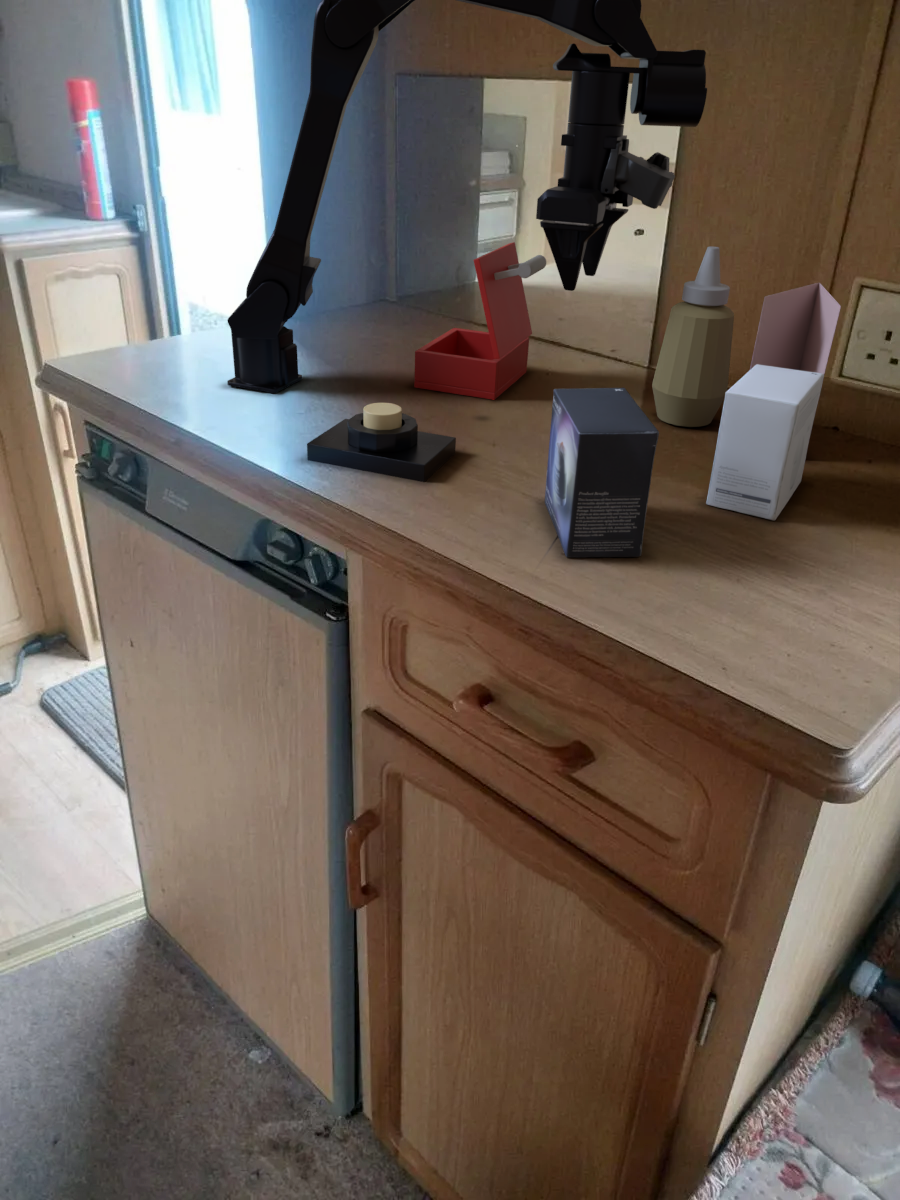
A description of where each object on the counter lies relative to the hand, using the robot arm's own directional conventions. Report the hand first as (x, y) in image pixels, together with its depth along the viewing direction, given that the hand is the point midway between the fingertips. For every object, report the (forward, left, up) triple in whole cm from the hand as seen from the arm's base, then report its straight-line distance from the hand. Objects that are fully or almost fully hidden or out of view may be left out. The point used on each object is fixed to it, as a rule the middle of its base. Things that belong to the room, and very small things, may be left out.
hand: (580, 282), depth 101 cm
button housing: (-11, -28, -13) cm, 33 cm away
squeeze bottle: (+14, -3, -13) cm, 19 cm away
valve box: (-12, 0, -13) cm, 17 cm away
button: (-11, -28, -9) cm, 32 cm away
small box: (+11, -35, -13) cm, 39 cm away
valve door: (-9, 0, -3) cm, 9 cm away
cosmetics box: (+23, -21, -13) cm, 34 cm away
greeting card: (+25, -5, -13) cm, 29 cm away
